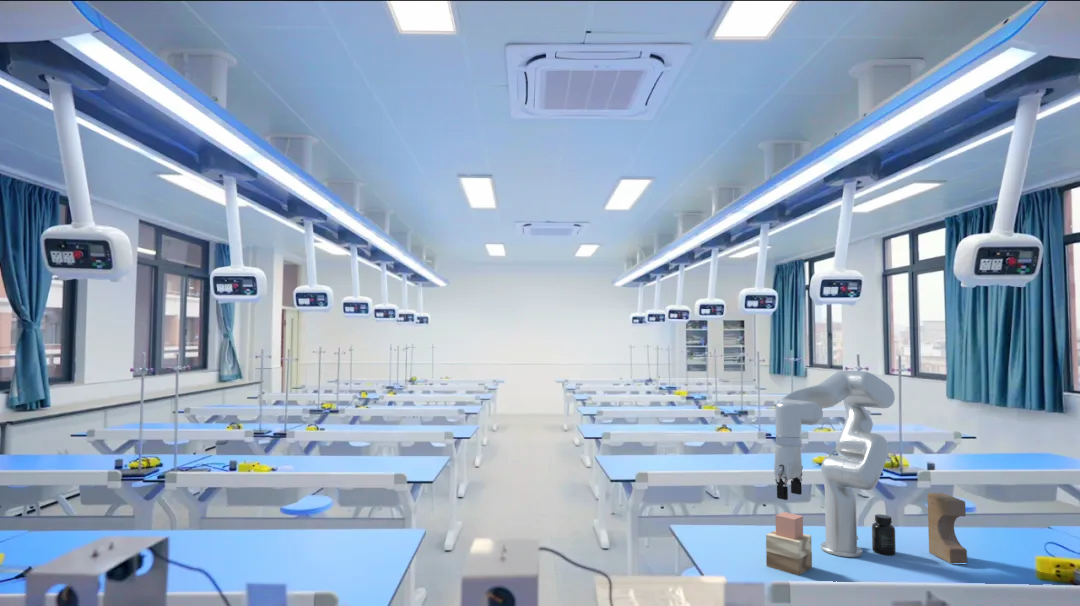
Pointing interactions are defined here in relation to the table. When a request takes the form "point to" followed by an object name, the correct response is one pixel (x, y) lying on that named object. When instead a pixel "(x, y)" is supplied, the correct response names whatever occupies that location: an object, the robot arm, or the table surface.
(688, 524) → the table surface
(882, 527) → the supplement bottle
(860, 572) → the table surface
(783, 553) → the maple top block
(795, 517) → the terracotta cube
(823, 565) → the table surface
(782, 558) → the walnut base block
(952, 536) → the decorative block
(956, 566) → the table surface
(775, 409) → the robot arm
